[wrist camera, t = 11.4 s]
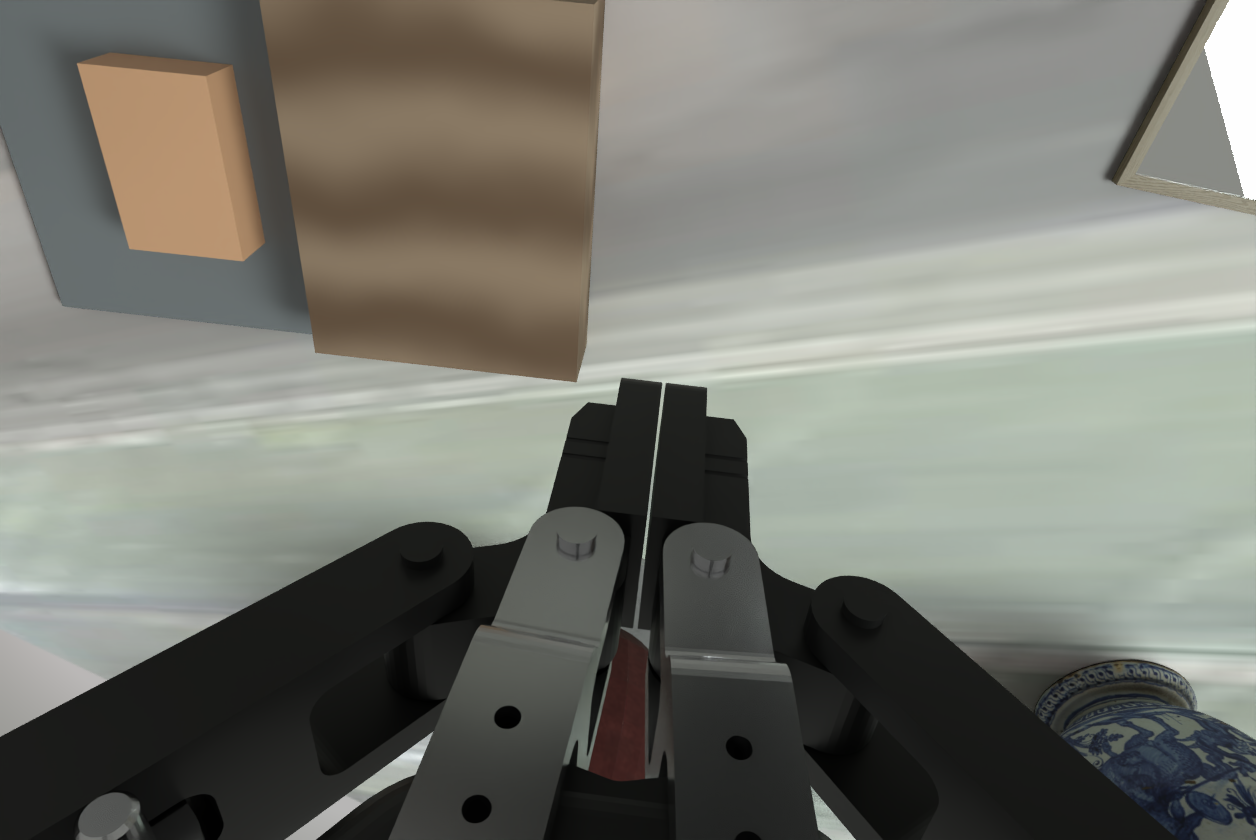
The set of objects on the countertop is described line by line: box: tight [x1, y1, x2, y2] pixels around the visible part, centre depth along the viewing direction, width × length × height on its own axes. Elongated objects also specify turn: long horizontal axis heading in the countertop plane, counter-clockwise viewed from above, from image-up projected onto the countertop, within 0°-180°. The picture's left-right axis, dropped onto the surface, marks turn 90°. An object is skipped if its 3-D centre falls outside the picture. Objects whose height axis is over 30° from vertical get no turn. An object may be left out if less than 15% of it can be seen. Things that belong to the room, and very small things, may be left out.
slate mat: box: [0, 0, 312, 334], centre depth 42 cm, size 20×16×1 cm
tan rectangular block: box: [77, 53, 265, 261], centre depth 41 cm, size 9×6×2 cm, turn 176°
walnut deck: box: [259, 0, 605, 382], centre depth 40 cm, size 18×14×4 cm
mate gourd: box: [588, 558, 650, 781], centre depth 51 cm, size 16×14×20 cm
